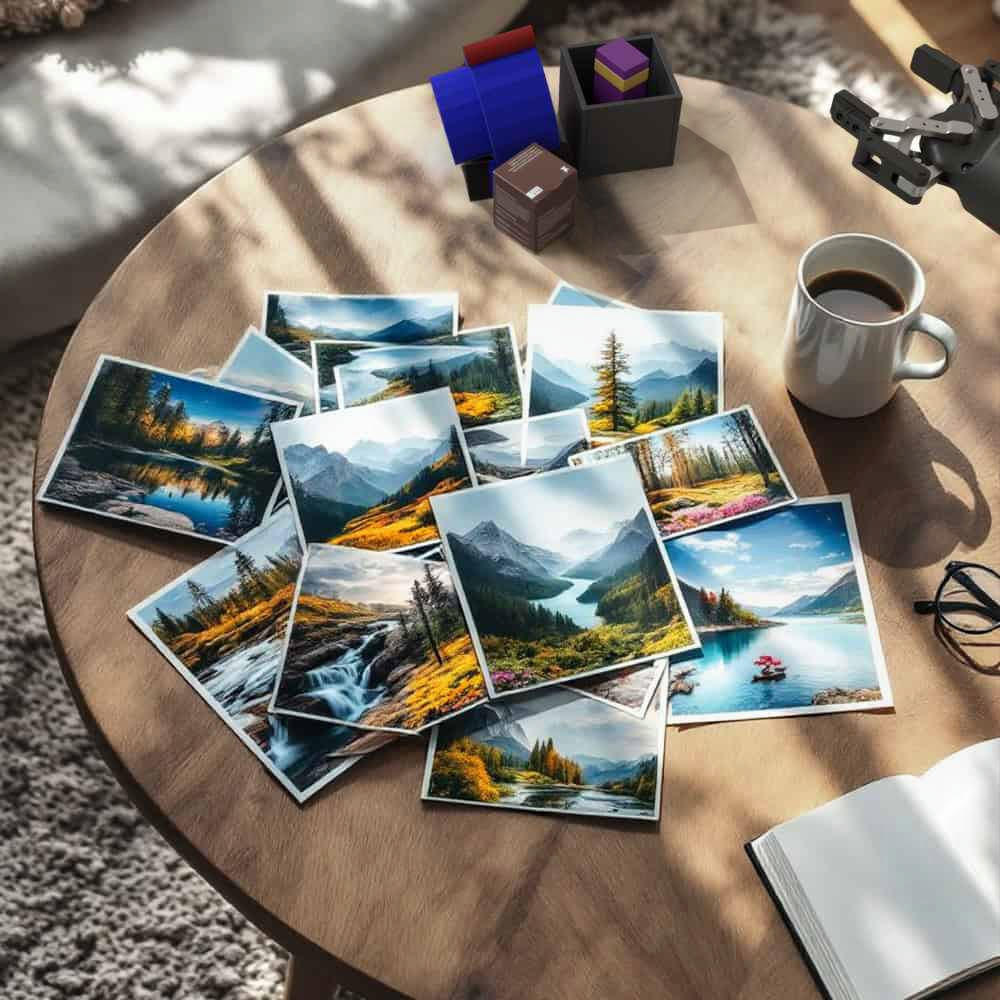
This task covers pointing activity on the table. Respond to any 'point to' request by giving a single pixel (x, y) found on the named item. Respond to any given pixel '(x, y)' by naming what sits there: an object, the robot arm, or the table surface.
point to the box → (534, 197)
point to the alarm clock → (495, 106)
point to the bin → (618, 113)
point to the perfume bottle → (619, 73)
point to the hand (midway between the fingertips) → (875, 77)
